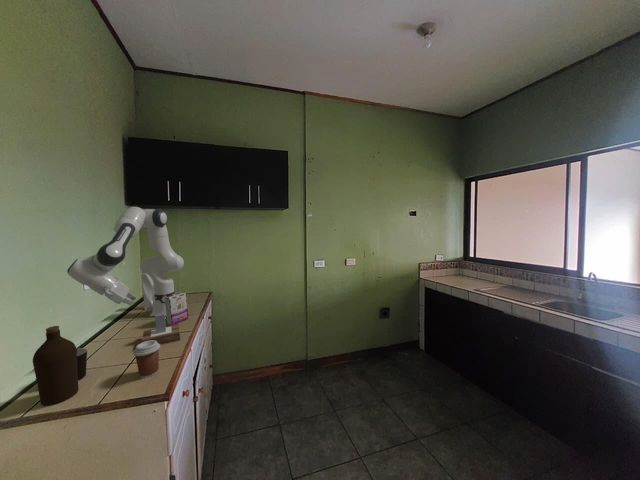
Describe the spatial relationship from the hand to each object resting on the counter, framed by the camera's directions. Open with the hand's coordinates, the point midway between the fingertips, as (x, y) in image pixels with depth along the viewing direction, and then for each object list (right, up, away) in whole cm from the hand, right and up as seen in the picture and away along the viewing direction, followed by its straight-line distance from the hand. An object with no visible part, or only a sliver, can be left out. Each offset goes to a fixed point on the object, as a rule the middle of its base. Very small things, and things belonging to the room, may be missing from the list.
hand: (134, 301), depth 126 cm
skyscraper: (-31, -19, +58) cm, 68 cm away
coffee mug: (-6, -24, -25) cm, 35 cm away
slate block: (+10, -17, +6) cm, 20 cm away
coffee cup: (+23, -23, -24) cm, 41 cm away
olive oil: (+1, -25, -36) cm, 44 cm away
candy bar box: (+5, -20, +30) cm, 36 cm away
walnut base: (+10, -21, +7) cm, 24 cm away
